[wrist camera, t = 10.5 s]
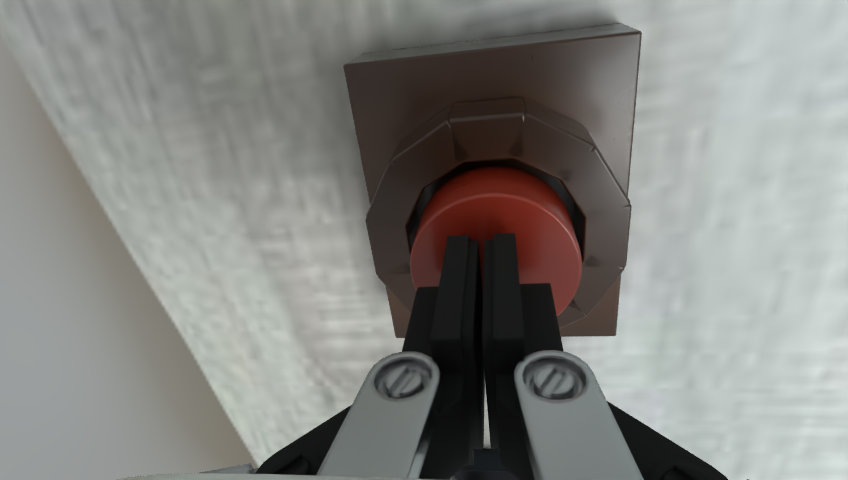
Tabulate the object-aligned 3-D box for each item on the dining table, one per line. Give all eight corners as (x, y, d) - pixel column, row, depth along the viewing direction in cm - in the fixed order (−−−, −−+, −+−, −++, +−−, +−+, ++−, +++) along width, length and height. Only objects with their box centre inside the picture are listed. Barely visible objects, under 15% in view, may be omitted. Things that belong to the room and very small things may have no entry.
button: (410, 170, 13) (397, 199, 12) (574, 159, 13) (585, 188, 11) (428, 299, 15) (420, 339, 14) (570, 296, 15) (580, 338, 13)
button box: (361, 52, 15) (322, 76, 12) (622, 22, 14) (664, 39, 11) (405, 304, 20) (386, 372, 17) (604, 299, 19) (628, 374, 15)
